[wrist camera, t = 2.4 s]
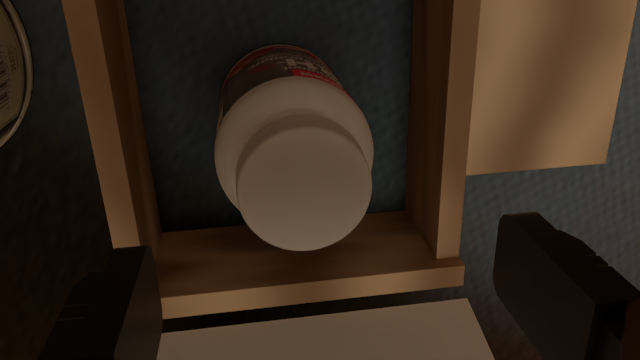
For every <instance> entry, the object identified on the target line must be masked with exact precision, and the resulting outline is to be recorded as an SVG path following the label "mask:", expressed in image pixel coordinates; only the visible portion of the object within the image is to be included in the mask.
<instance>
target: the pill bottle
mask: <svg viewBox="0 0 640 360" xmlns="http://www.w3.org/2000/svg"><path fill="white" fill-rule="evenodd" d="M373 154H374V149H373V140H372V135H371V131H370V128H369V126H368V123H367V121H366V119H365V117H364V115H363V113H362V111H361V110H360V108H359V107H358V106H357V104H356V103H355V102H354V100H353V99H352V98H351V97H350V95H349V94H348V92H347V91H346V90H345V88H344V87H343V86H342V85H341V83H340V82H339V80H338V79H337V78H336V76H335V75H334V73H333V72H332V71H331V70H330V68H329V67H328V66H327V65H326V64H325V63H324V62H323V61H322V60H321V59H320V58H319V57H317V56H316V55H314V54H313V53H311V52H310V51H308V50H305V49H303V48H300V47H297V46H293V45H286V44H275V45H269V46H264V47H261V48H258V49H256V50H254V51H252V52H250V53H248V54H247V55H245V56H244V57H243V58H241V59H240V60H239V61H238V62H237V63H236V64H235V65H234V66H233V68H232V69H231V70H230V72H229V73H228V75H227V77H226V79H225V81H224V84H223V87H222V91H221V95H220V101H219V113H218V123H217V132H216V140H215V157H214V160H215V165H216V171H217V175H218V178H219V181H220V184H221V186H222V188H223V190H224V192H225V194H226V195H227V197H228V198H229V200H230V201H231V202H232V203H233V205H234V206H235V207H236V208H237V209H238V210H239V211H240V212H241V214H242V217H243V219H244V220H245V222H246V223H247V225H248V226H249V227H250V228H251V230H252V231H253V232H254V233H255V234H256V235H258V236H259V237H260V238H261V239H263V240H264V241H266V242H268V243H269V244H271V245H273V246H276V247H279V248H282V249H287V250H293V251H309V250H316V249H320V248H323V247H326V246H329V245H331V244H334V243H335V242H337V241H339V240H341V239H342V238H344V237H345V236H346V235H348V234H349V233H350V232H351V231H352V230H353V229H354V228H355V227H356V226H357V225H358V224H359V222H360V221H361V220H362V218H363V217H364V215H365V213H366V211H367V208H368V206H369V202H370V199H371V193H372V177H371V169H372V164H373Z"/></svg>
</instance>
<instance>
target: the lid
mask: <svg viewBox="0 0 640 360" xmlns="http://www.w3.org/2000/svg"><path fill="white" fill-rule="evenodd" d="M156 360H495V359H494V357H493V355H492V353H491V350H490V348H489V346H488V344H487V342H486V339H485V337H484V335H483V333H482V330H481V328H480V326H479V324H478V321H477V319H476V317H475V315H474V313H473V310H472V308H471V306H470V304H469V301H468V299H467V298H465V299H456V300H448V301H439V302H430V303H422V304H413V305H404V306H396V307H387V308H378V309H370V310H361V311H352V312H344V313H335V314H326V315H317V316H309V317H300V318H291V319H283V320H274V321H265V322H257V323H248V324H239V325H231V326H222V327H213V328H205V329H196V330H187V331H179V332H170V333H162V334H161V339H160V344H159V349H158V354H157V359H156Z"/></svg>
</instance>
